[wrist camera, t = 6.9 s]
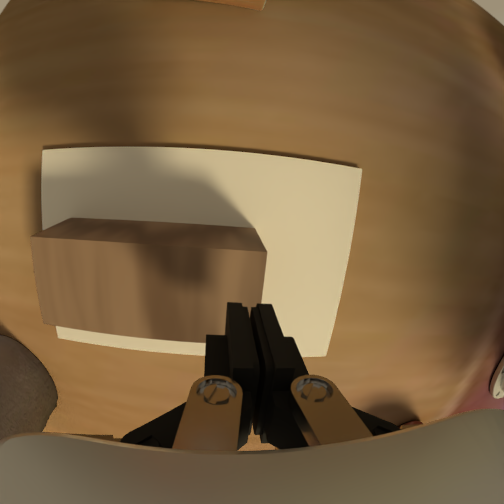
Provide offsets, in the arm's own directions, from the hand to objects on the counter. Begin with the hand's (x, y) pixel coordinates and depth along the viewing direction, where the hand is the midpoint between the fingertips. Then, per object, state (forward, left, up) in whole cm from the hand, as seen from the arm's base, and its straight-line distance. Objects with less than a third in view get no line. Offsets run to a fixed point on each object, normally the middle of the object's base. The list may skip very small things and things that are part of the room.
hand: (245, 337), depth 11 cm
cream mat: (+3, 0, -8) cm, 9 cm away
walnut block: (-1, 0, -6) cm, 6 cm away
